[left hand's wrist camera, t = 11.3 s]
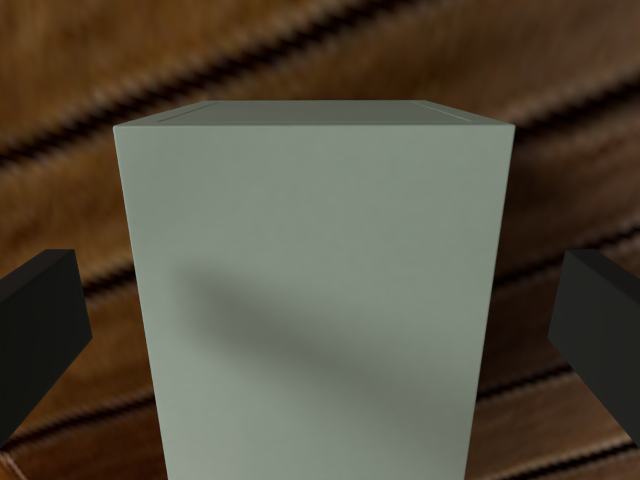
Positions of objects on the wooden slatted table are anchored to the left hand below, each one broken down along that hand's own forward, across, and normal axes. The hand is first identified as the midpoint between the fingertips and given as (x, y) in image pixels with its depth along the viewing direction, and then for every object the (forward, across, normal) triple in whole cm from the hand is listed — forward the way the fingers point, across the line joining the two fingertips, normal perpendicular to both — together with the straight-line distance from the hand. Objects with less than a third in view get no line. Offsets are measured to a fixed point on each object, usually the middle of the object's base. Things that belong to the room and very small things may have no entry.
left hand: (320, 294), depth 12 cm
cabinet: (+14, 0, -7) cm, 15 cm away
